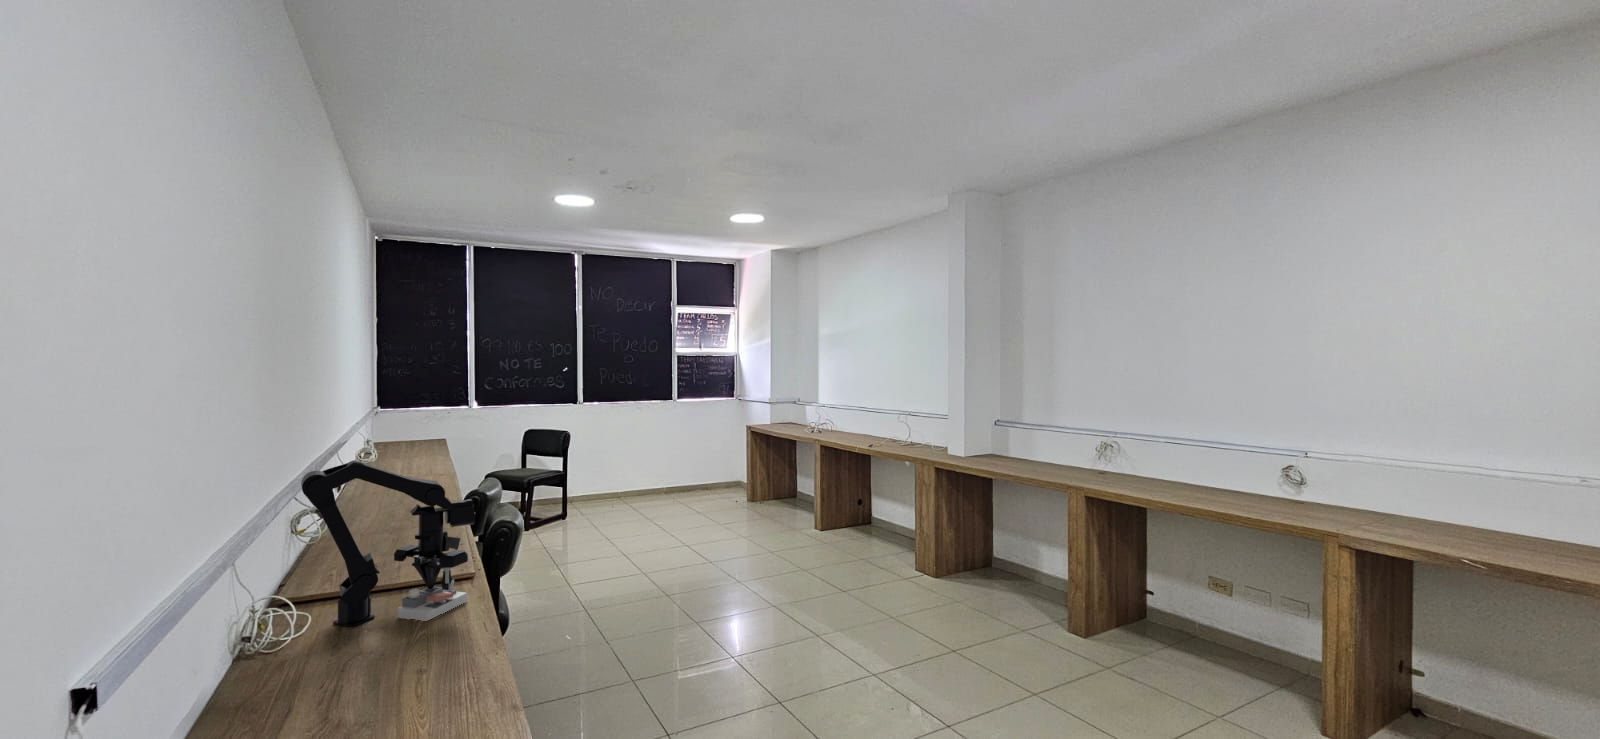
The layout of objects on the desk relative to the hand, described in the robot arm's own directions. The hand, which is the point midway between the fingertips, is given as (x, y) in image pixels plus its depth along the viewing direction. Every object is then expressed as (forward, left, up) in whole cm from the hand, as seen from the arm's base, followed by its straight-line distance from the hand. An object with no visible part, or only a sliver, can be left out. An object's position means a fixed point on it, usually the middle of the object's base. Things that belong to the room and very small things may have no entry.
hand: (430, 588), depth 182 cm
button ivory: (-5, 0, -1) cm, 5 cm away
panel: (-1, -2, -5) cm, 6 cm away
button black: (0, 0, -2) cm, 2 cm away
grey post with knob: (+11, +4, -5) cm, 13 cm away
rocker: (-2, -5, -1) cm, 6 cm away
